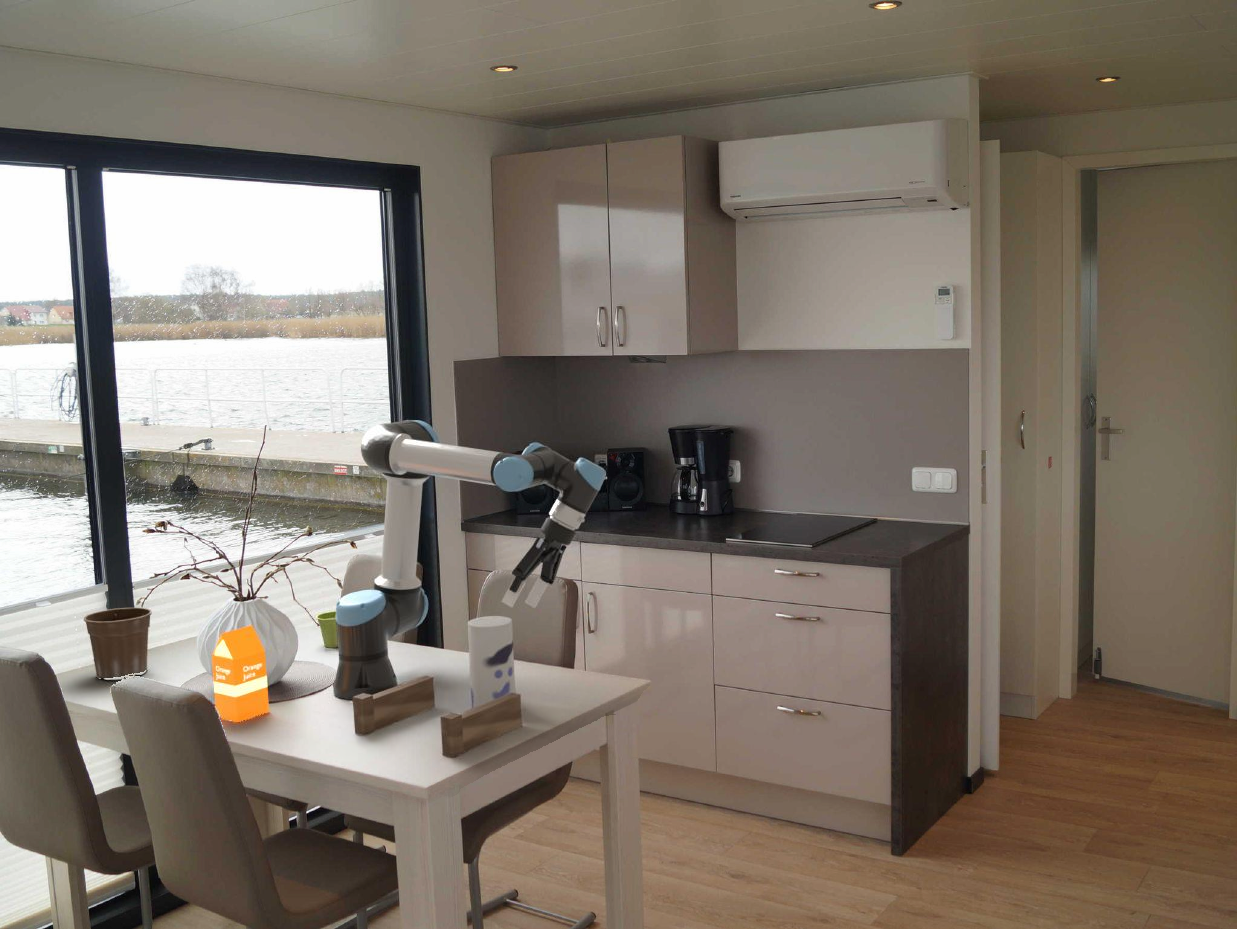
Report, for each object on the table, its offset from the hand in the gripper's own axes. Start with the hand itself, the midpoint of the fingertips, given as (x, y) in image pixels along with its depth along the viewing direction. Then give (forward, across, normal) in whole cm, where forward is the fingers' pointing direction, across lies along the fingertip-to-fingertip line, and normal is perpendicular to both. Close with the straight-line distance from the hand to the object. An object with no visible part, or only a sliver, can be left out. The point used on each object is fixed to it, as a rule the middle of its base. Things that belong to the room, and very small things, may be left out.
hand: (518, 605), depth 259 cm
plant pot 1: (+72, +6, +90) cm, 115 cm away
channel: (+29, -15, -3) cm, 33 cm away
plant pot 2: (+45, +41, +58) cm, 84 cm away
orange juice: (+52, -16, +40) cm, 68 cm away
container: (+23, +1, -6) cm, 24 cm away
